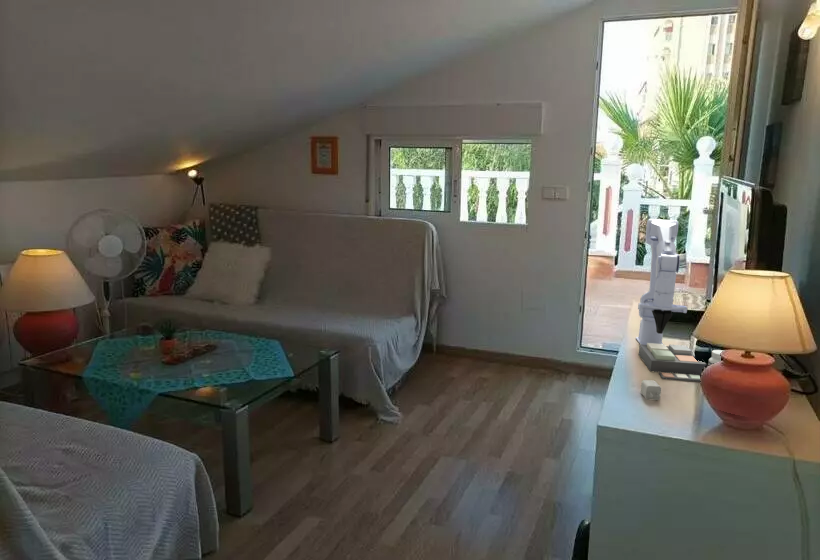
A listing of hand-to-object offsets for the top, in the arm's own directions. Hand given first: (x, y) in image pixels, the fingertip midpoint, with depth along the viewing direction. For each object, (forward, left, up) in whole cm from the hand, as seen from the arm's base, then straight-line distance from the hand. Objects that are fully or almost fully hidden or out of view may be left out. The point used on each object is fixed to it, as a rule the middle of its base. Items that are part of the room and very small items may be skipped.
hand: (659, 332), depth 198 cm
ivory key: (0, 0, -7) cm, 7 cm away
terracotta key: (+7, +7, -9) cm, 13 cm away
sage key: (+7, 0, -8) cm, 10 cm away
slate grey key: (0, +7, -8) cm, 10 cm away
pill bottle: (+18, +13, -10) cm, 24 cm away
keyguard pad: (+3, +4, -9) cm, 11 cm away
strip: (+15, +4, -9) cm, 18 cm away
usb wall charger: (+33, -9, -10) cm, 36 cm away
